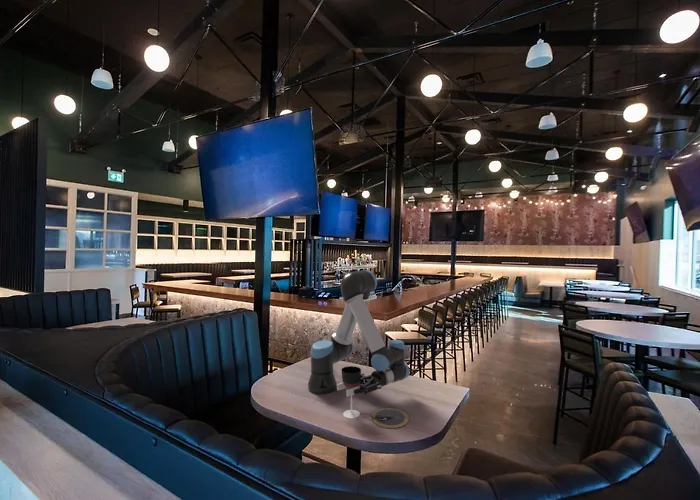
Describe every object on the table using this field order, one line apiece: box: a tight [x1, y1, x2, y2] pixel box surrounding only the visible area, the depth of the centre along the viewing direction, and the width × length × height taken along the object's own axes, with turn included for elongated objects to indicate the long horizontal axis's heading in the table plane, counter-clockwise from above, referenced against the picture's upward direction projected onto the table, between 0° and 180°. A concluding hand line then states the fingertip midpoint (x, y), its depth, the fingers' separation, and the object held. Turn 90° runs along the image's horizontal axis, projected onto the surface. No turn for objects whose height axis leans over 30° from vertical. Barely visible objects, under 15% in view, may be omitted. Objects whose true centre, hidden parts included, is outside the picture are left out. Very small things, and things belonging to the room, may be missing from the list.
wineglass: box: [341, 365, 362, 419], centre depth 153 cm, size 8×9×20 cm
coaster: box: [371, 407, 410, 429], centre depth 150 cm, size 16×16×1 cm
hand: (342, 390), depth 150 cm, fingers closed on wineglass, 7 cm apart
